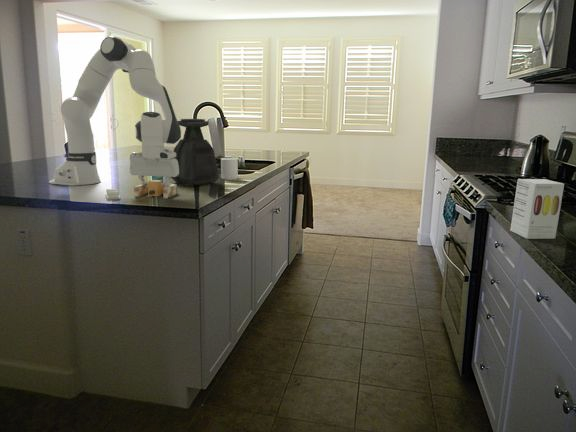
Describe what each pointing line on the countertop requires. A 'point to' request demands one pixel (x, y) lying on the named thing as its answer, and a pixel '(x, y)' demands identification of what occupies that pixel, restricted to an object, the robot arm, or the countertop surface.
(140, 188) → the end holder
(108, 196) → the guide clip
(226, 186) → the countertop surface
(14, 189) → the countertop surface
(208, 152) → the dark grey vase
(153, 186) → the connector
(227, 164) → the cup
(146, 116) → the robot arm
